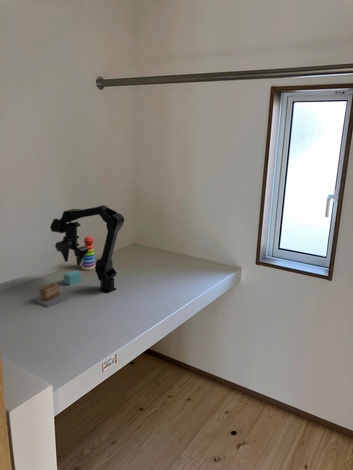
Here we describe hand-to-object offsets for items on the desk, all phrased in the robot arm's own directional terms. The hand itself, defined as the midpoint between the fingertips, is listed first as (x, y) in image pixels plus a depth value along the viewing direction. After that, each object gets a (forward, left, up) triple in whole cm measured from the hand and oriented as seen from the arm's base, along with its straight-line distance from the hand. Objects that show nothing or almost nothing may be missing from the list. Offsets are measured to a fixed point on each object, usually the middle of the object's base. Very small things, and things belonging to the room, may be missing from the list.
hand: (72, 263), depth 192 cm
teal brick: (0, 0, -10) cm, 10 cm away
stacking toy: (+9, -19, -10) cm, 23 cm away
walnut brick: (-8, +20, -9) cm, 23 cm away
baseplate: (-8, +20, -10) cm, 24 cm away
